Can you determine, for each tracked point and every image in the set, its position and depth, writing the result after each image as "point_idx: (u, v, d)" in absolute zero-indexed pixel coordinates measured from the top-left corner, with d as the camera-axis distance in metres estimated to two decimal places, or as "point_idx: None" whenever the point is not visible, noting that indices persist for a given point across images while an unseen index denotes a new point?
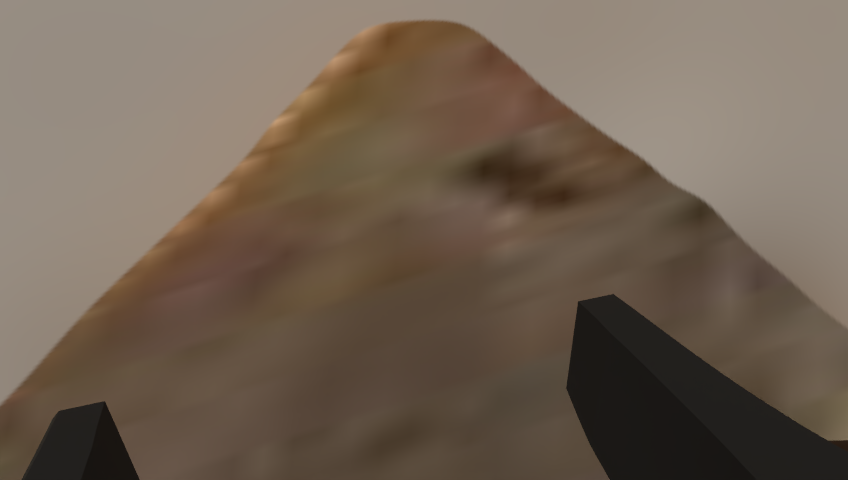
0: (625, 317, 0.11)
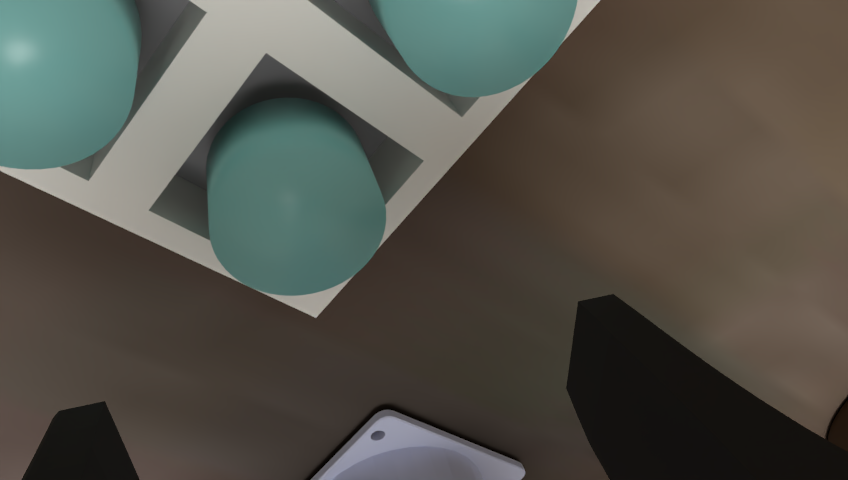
0: (625, 317, 0.11)
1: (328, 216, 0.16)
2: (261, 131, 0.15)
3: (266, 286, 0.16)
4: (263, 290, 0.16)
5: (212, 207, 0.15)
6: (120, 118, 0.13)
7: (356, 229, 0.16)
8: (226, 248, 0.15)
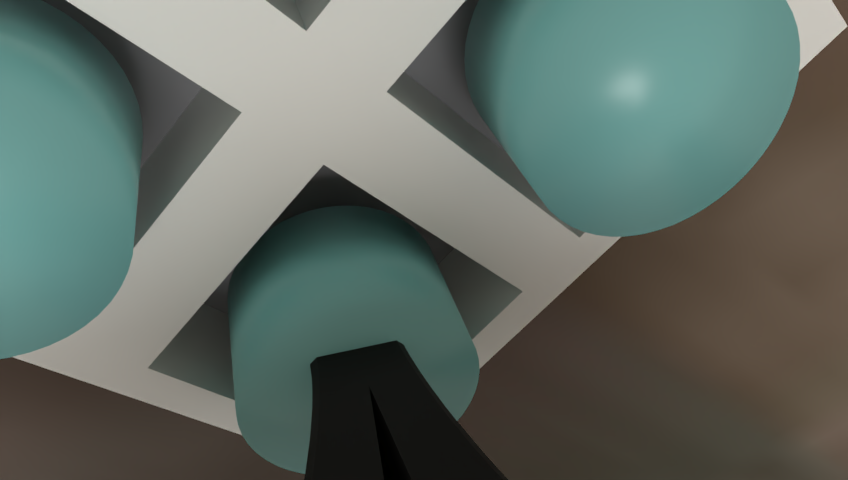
0: (393, 368, 0.10)
1: None
2: (311, 266, 0.11)
3: None
4: (305, 471, 0.12)
5: (242, 381, 0.10)
6: (110, 287, 0.09)
7: (437, 394, 0.12)
8: (259, 428, 0.11)
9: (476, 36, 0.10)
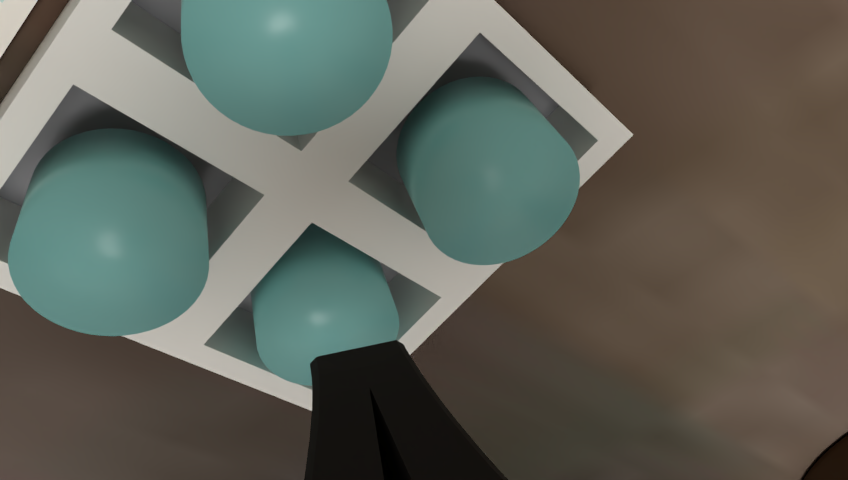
0: (393, 368, 0.10)
1: (352, 326, 0.19)
2: (299, 258, 0.19)
3: (299, 379, 0.20)
4: (296, 382, 0.20)
5: (260, 322, 0.18)
6: (194, 295, 0.16)
7: (374, 335, 0.20)
8: (269, 352, 0.19)
9: (401, 147, 0.18)
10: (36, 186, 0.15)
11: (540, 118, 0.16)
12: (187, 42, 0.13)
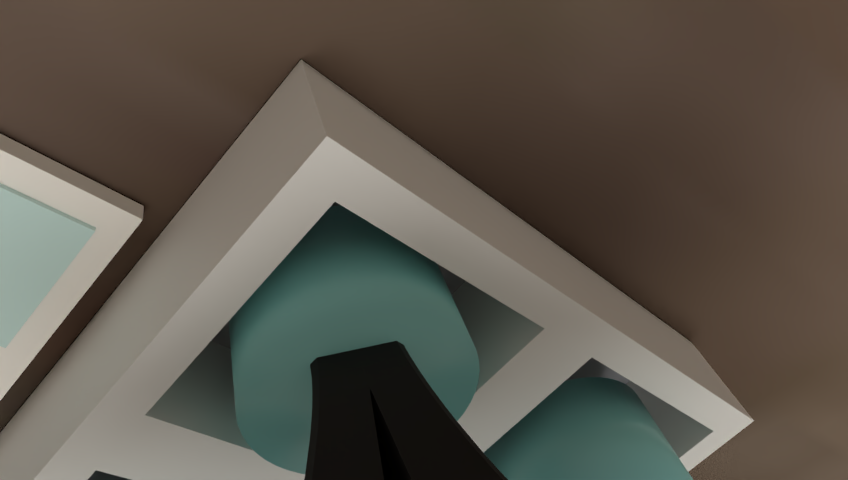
0: (393, 368, 0.10)
1: None
2: None
3: None
4: None
5: None
6: None
7: None
8: None
9: None
10: None
11: (663, 457, 0.13)
12: (242, 413, 0.11)
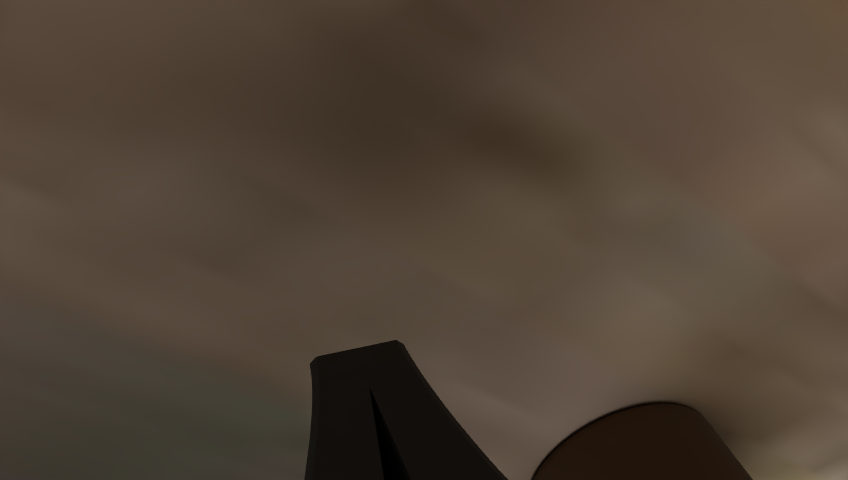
0: (393, 368, 0.10)
1: None
2: None
3: None
4: None
5: None
6: None
7: None
8: None
9: None
10: None
11: None
12: None
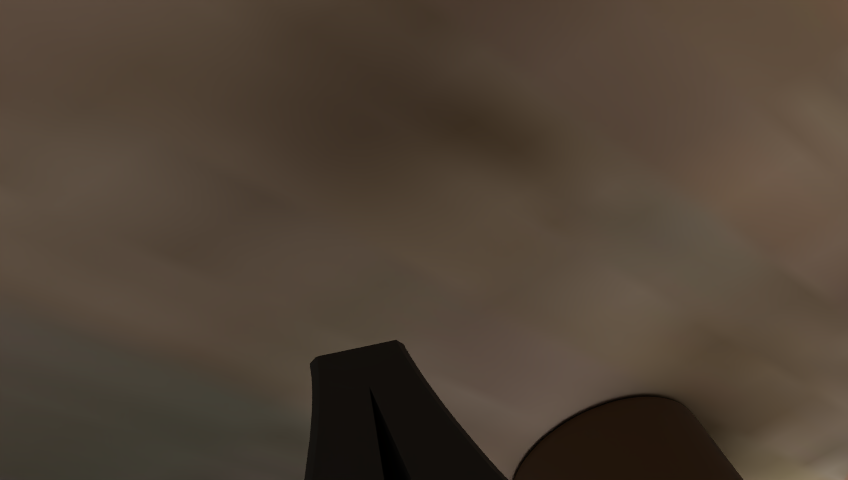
0: (393, 368, 0.10)
1: None
2: None
3: None
4: None
5: None
6: None
7: None
8: None
9: None
10: None
11: None
12: None
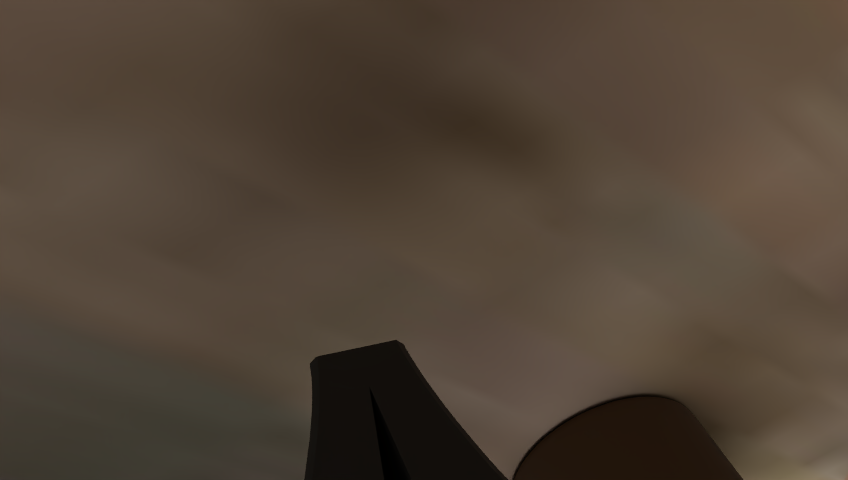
0: (393, 368, 0.10)
1: None
2: None
3: None
4: None
5: None
6: None
7: None
8: None
9: None
10: None
11: None
12: None
